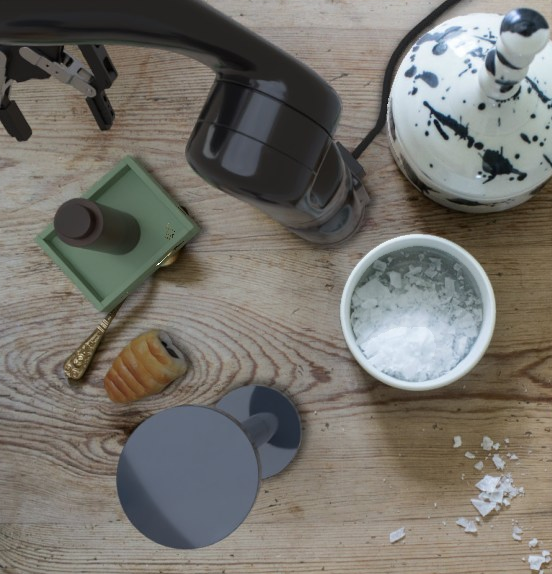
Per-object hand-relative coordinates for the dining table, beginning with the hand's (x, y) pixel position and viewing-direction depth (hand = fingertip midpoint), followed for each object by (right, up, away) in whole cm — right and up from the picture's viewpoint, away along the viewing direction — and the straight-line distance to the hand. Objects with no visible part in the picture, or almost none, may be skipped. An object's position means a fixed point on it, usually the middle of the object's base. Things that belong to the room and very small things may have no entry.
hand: (67, 132), depth 64 cm
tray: (+1, -10, +9) cm, 14 cm away
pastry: (+5, -26, +9) cm, 27 cm away
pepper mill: (+1, -10, +9) cm, 13 cm away
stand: (+17, -33, +8) cm, 38 cm away
